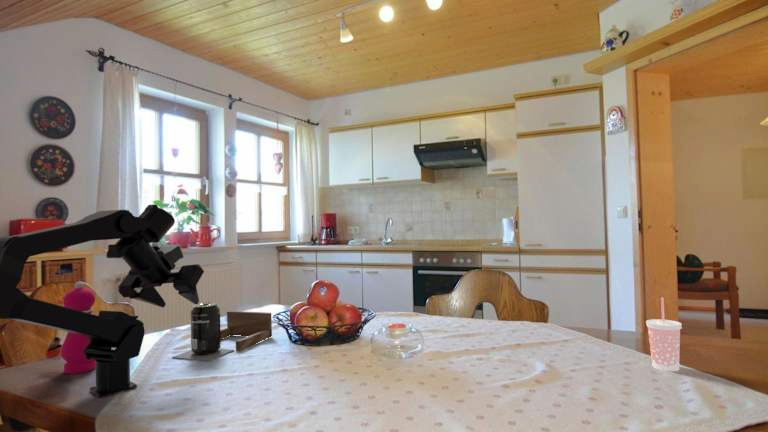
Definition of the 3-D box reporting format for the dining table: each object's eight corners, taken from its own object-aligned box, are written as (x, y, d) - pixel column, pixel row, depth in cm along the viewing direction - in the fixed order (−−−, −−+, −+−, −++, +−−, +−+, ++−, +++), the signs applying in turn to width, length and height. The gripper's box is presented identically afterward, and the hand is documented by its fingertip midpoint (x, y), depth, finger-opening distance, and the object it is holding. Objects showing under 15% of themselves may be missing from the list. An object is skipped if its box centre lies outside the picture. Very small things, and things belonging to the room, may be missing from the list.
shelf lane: (239, 351, 110) (239, 323, 110) (195, 347, 115) (194, 320, 115) (271, 337, 123) (271, 312, 123) (230, 334, 128) (229, 310, 128)
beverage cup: (652, 360, 92) (649, 294, 92) (687, 366, 88) (683, 296, 88) (644, 368, 88) (640, 298, 88) (680, 374, 83) (676, 301, 84)
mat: (208, 361, 102) (208, 360, 102) (172, 358, 106) (172, 357, 106) (234, 350, 111) (234, 349, 111) (199, 348, 115) (199, 346, 115)
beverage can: (210, 347, 114) (209, 300, 114) (226, 350, 110) (225, 303, 110) (185, 353, 108) (184, 305, 109) (201, 358, 104) (200, 307, 105)
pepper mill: (80, 375, 95) (78, 283, 96) (52, 374, 97) (51, 283, 97) (107, 365, 102) (105, 279, 103) (81, 364, 104) (79, 279, 104)
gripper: (196, 227, 97) (228, 275, 107) (126, 237, 102) (164, 281, 111) (172, 264, 89) (210, 312, 98) (98, 272, 93) (141, 317, 103)
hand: (180, 304), depth 103 cm, fingers open, 9 cm apart
